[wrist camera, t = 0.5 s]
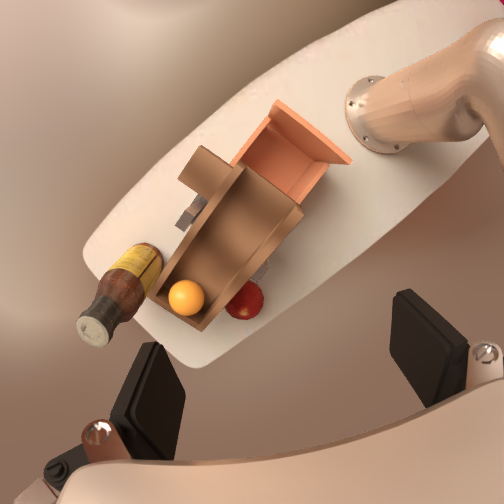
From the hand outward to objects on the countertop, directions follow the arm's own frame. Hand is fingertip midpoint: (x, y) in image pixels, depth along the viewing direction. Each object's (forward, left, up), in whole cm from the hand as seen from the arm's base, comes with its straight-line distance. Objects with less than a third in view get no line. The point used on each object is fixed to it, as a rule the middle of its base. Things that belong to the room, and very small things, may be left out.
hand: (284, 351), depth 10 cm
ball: (+11, -2, -19) cm, 22 cm away
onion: (+11, +6, -32) cm, 34 cm away
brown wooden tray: (+4, -4, -23) cm, 24 cm away
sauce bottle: (+17, -9, -32) cm, 37 cm away
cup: (-7, -2, -32) cm, 32 cm away
